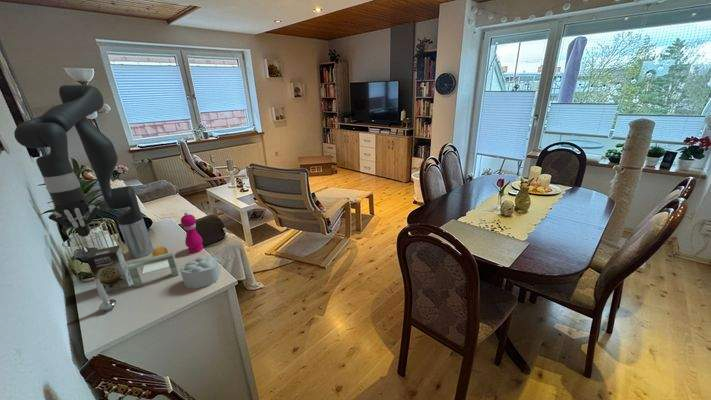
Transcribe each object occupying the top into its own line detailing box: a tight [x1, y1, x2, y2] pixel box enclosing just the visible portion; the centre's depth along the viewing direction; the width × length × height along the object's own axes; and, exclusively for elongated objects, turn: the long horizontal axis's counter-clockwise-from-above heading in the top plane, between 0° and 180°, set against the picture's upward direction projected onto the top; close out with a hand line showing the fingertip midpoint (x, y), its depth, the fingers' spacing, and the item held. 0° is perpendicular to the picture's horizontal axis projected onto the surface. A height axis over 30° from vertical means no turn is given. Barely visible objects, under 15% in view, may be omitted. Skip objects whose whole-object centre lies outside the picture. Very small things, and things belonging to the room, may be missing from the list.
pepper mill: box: [180, 211, 204, 254], centre depth 135 cm, size 7×7×20 cm
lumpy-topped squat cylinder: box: [179, 256, 221, 289], centre depth 114 cm, size 10×13×9 cm
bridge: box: [127, 251, 180, 289], centre depth 115 cm, size 3×15×10 cm, turn 120°
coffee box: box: [85, 244, 132, 293], centre depth 111 cm, size 9×6×16 cm
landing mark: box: [141, 252, 176, 275], centre depth 129 cm, size 12×12×1 cm
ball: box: [151, 245, 169, 257], centre depth 131 cm, size 6×6×6 cm
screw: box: [93, 278, 117, 312], centre depth 100 cm, size 13×5×5 cm
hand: (85, 235), depth 97 cm, fingers closed
